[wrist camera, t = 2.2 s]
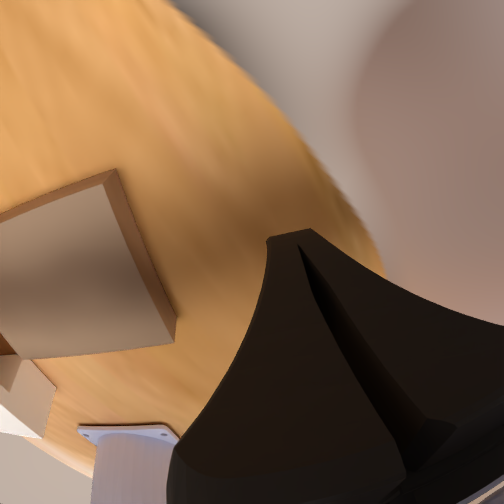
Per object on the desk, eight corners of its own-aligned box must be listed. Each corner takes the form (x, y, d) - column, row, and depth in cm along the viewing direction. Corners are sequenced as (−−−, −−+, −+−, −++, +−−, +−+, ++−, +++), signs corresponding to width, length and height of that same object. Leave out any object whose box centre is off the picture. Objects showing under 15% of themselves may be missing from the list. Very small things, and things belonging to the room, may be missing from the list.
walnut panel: (177, 310, 14) (174, 342, 12) (34, 333, 14) (22, 359, 12) (119, 164, 10) (102, 183, 8) (-31, 227, 10) (-53, 249, 8)
